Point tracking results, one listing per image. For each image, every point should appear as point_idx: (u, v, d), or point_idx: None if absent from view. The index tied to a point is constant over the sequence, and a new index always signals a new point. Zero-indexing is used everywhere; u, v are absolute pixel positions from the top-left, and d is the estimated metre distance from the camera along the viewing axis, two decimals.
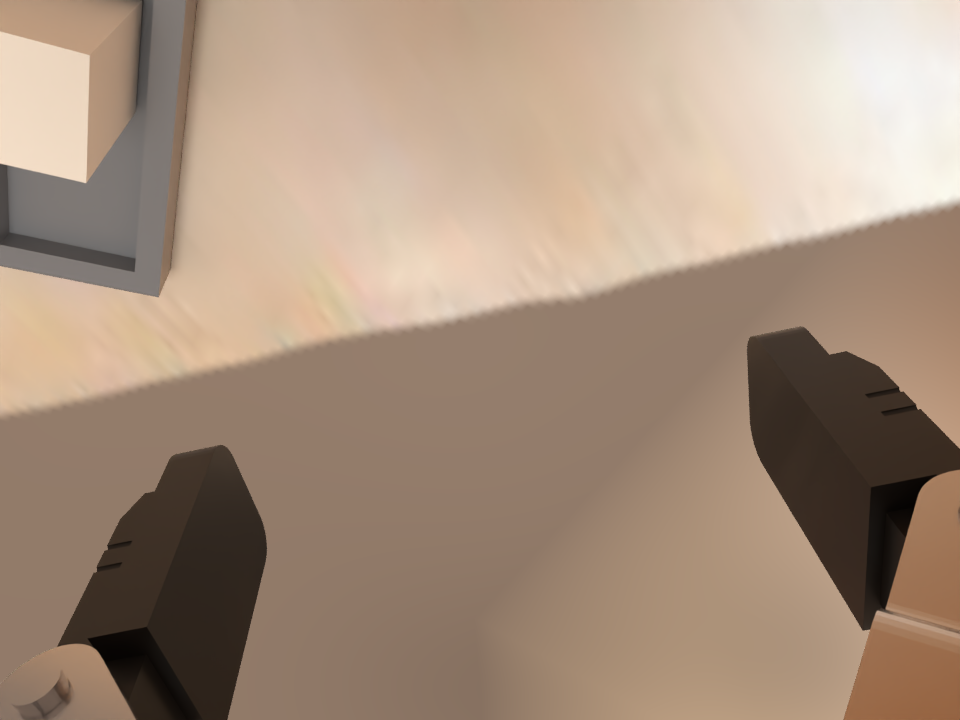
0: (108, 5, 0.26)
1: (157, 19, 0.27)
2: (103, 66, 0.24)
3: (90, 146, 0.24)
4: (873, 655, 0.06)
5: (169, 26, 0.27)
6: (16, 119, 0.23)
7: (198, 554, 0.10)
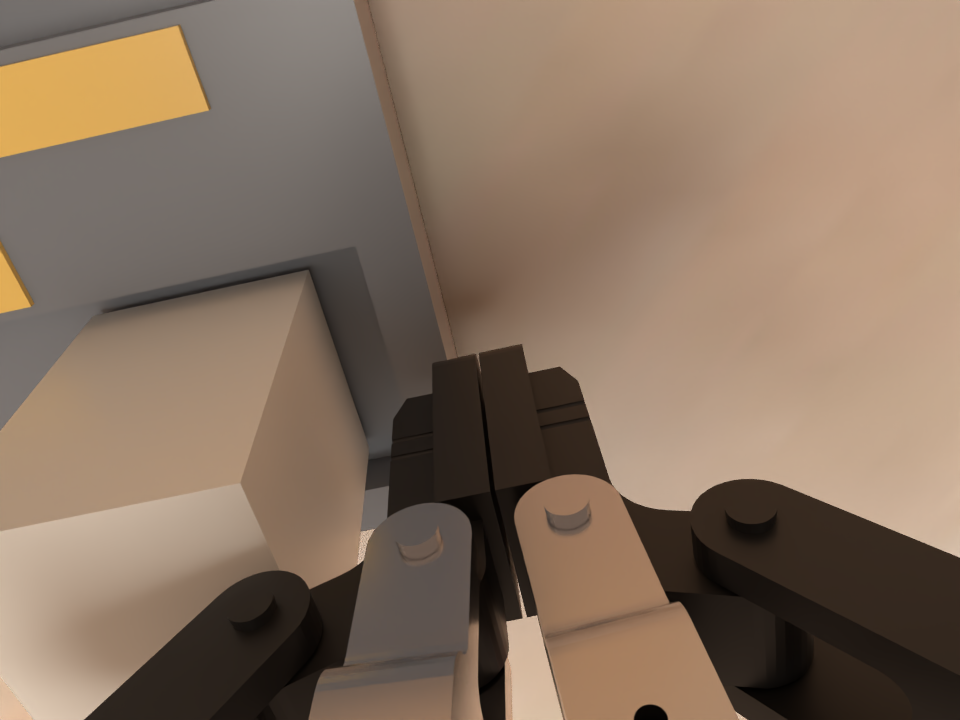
0: (353, 462, 0.15)
1: None
2: None
3: None
4: (564, 680, 0.06)
5: None
6: (109, 648, 0.10)
7: (487, 443, 0.11)
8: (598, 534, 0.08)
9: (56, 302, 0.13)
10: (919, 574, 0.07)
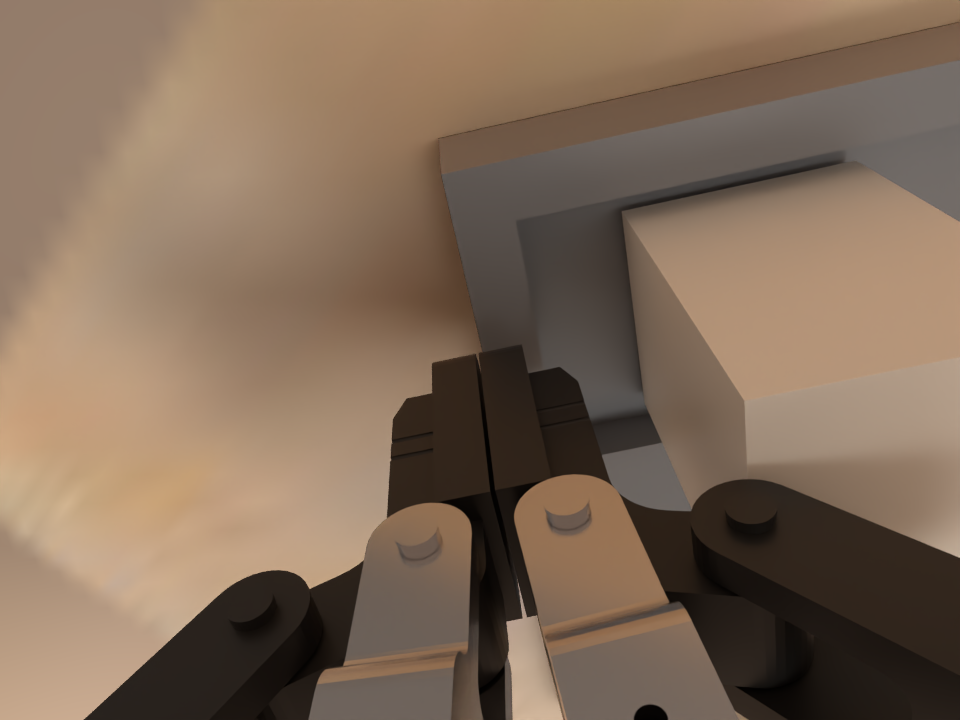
0: None
1: None
2: None
3: None
4: (565, 680, 0.06)
5: None
6: None
7: (488, 443, 0.11)
8: (598, 534, 0.08)
9: None
10: (920, 574, 0.07)
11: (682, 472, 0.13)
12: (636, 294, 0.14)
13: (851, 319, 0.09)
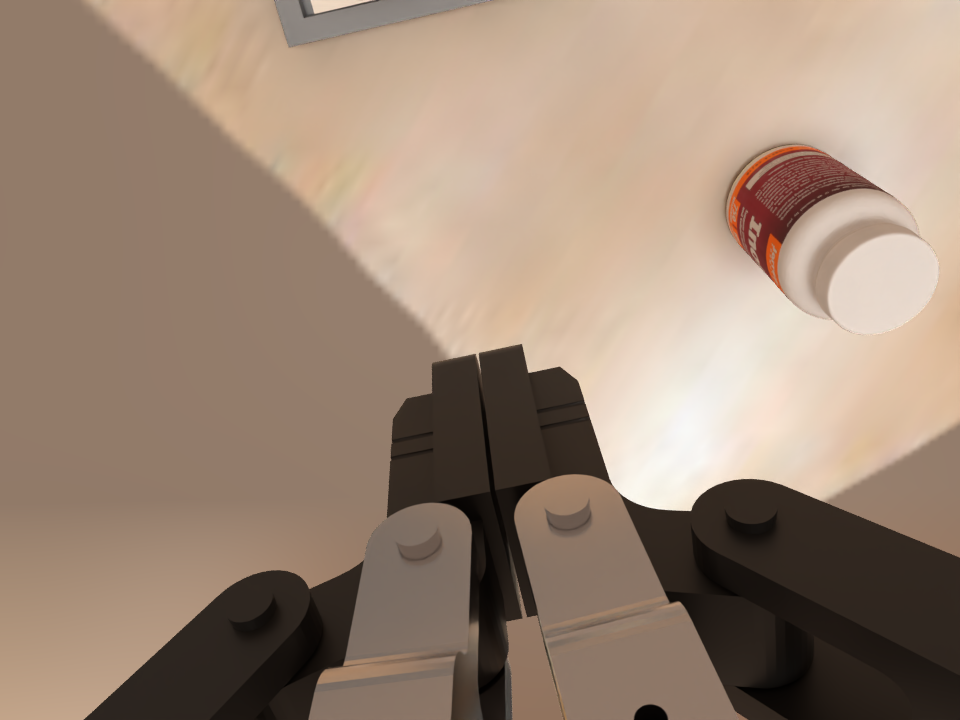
0: None
1: None
2: None
3: (343, 6, 0.30)
4: (565, 679, 0.06)
5: None
6: None
7: (487, 443, 0.11)
8: (598, 534, 0.08)
9: None
10: (920, 574, 0.07)
11: None
12: None
13: None
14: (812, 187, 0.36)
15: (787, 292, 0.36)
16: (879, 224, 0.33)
